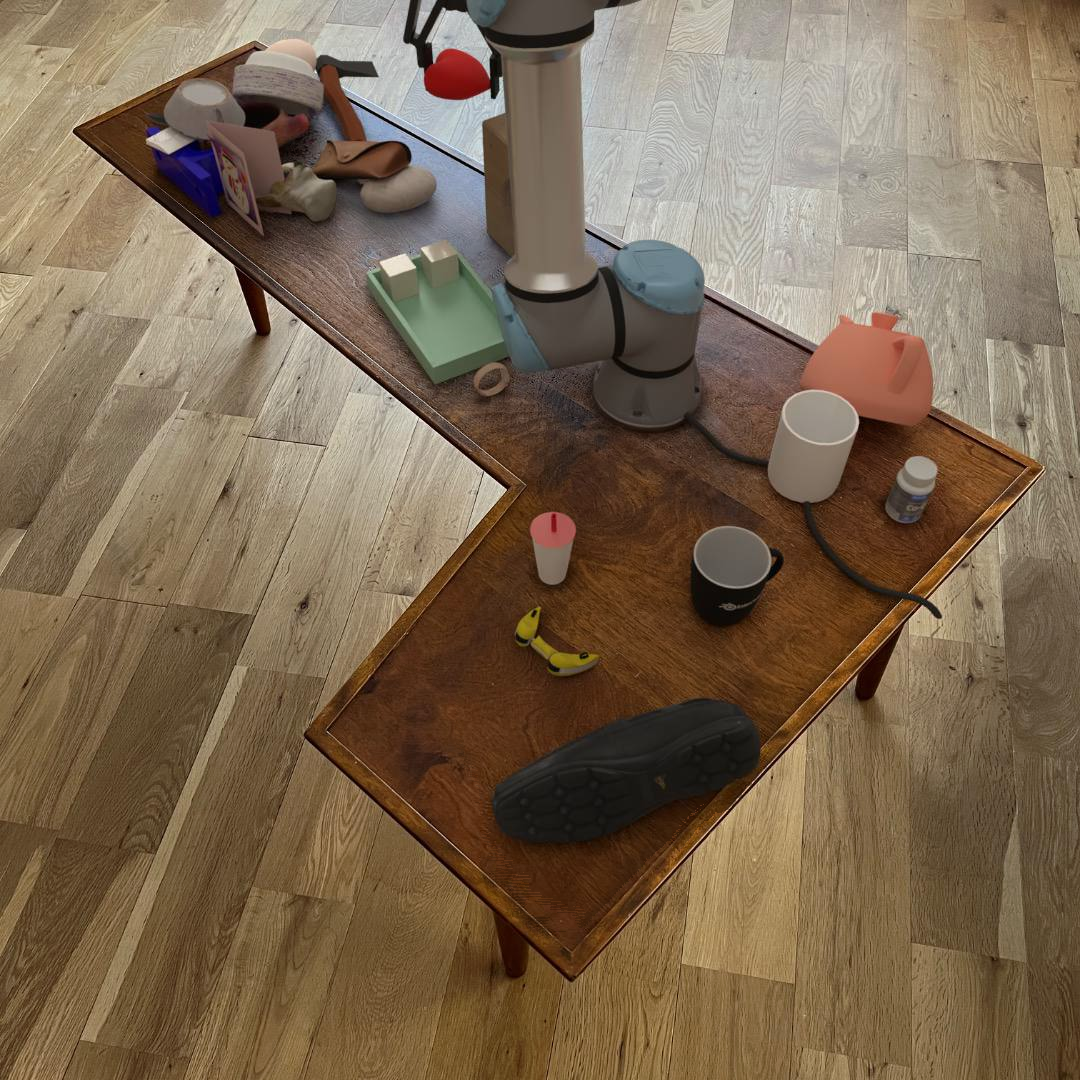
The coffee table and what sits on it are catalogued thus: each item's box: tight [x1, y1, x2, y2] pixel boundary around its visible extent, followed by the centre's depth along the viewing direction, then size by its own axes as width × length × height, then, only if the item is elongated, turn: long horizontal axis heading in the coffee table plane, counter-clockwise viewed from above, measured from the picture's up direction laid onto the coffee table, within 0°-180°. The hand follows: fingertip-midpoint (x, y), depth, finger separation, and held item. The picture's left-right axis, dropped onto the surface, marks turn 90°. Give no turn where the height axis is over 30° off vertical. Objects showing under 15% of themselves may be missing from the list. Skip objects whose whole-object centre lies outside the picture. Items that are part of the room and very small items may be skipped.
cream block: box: [419, 239, 460, 289], centre depth 166 cm, size 4×4×5 cm
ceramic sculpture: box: [253, 160, 337, 222], centre depth 177 cm, size 11×9×15 cm
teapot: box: [799, 311, 934, 427], centre depth 145 cm, size 25×17×13 cm
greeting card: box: [206, 121, 293, 237], centre depth 173 cm, size 11×7×15 cm, turn 40°
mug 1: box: [689, 525, 785, 628], centre depth 129 cm, size 12×9×10 cm
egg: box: [264, 38, 317, 73], centre depth 198 cm, size 9×9×12 cm
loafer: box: [491, 697, 762, 844], centre depth 116 cm, size 10×29×10 cm
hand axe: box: [315, 54, 380, 141], centre depth 197 cm, size 12×3×30 cm
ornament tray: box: [365, 242, 510, 385], centre depth 162 cm, size 24×15×3 cm, turn 29°
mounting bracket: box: [145, 125, 225, 219], centre depth 181 cm, size 18×7×6 cm
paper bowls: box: [231, 50, 324, 117], centre depth 189 cm, size 15×15×8 cm
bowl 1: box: [163, 77, 246, 141], centre depth 179 cm, size 13×13×5 cm
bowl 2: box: [239, 102, 310, 149], centre depth 186 cm, size 16×13×8 cm
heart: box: [423, 47, 490, 101], centre depth 170 cm, size 12×5×10 cm
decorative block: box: [481, 112, 515, 258], centre depth 166 cm, size 11×6×20 cm, turn 32°
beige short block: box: [378, 252, 419, 303], centre depth 164 cm, size 4×4×5 cm
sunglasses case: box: [311, 139, 413, 180], centre depth 181 cm, size 18×7×7 cm
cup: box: [529, 511, 577, 586], centre depth 131 cm, size 5×5×12 cm
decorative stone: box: [359, 165, 438, 214], centre depth 178 cm, size 13×9×5 cm
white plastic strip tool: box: [145, 126, 196, 154], centre depth 180 cm, size 5×15×1 cm, turn 146°
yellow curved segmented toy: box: [514, 606, 600, 677], centre depth 127 cm, size 10×6×4 cm, turn 45°
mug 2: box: [767, 390, 860, 504], centre depth 141 cm, size 10×12×12 cm
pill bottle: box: [884, 455, 939, 524], centre depth 138 cm, size 5×5×8 cm
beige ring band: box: [473, 361, 511, 397], centre depth 152 cm, size 3×5×5 cm, turn 118°
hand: (462, 90), depth 172 cm, fingers closed on heart, 10 cm apart
